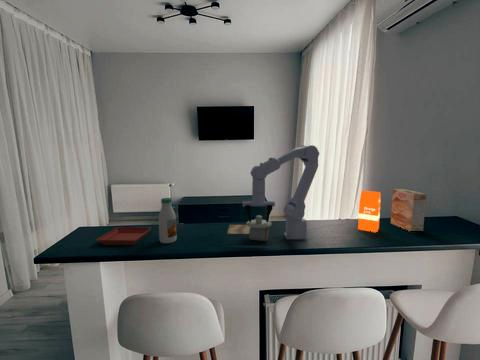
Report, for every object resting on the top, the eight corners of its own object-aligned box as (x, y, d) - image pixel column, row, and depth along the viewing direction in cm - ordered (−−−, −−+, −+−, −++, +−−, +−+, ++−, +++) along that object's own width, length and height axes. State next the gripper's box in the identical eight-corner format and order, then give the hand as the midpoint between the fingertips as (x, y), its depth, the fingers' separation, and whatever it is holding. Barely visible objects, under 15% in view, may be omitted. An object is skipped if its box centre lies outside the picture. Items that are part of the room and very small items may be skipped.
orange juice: (360, 225, 138) (362, 189, 135) (378, 228, 133) (381, 191, 130) (357, 229, 132) (359, 191, 129) (376, 232, 126) (379, 193, 124)
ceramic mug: (266, 244, 113) (267, 227, 112) (248, 242, 115) (249, 226, 114) (270, 236, 123) (270, 221, 122) (253, 235, 125) (253, 219, 124)
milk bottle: (161, 245, 113) (159, 201, 110) (158, 239, 119) (156, 197, 117) (178, 241, 116) (176, 199, 113) (174, 236, 123) (172, 196, 120)
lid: (269, 220, 123) (269, 212, 122) (273, 227, 111) (273, 219, 111) (245, 220, 122) (245, 213, 122) (247, 228, 111) (247, 220, 110)
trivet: (255, 226, 137) (255, 224, 137) (255, 235, 123) (256, 233, 123) (229, 226, 138) (229, 224, 137) (227, 235, 124) (227, 233, 124)
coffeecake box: (389, 223, 141) (392, 188, 139) (401, 222, 142) (404, 188, 140) (410, 232, 127) (413, 194, 124) (423, 231, 127) (427, 193, 125)
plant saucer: (117, 232, 130) (117, 226, 130) (152, 233, 129) (151, 227, 128) (96, 246, 112) (95, 239, 112) (135, 247, 111) (135, 240, 111)
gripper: (273, 190, 118) (273, 219, 120) (242, 190, 118) (242, 218, 120) (275, 193, 111) (275, 223, 113) (242, 193, 111) (242, 223, 113)
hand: (258, 221), depth 116 cm, fingers open, 7 cm apart
